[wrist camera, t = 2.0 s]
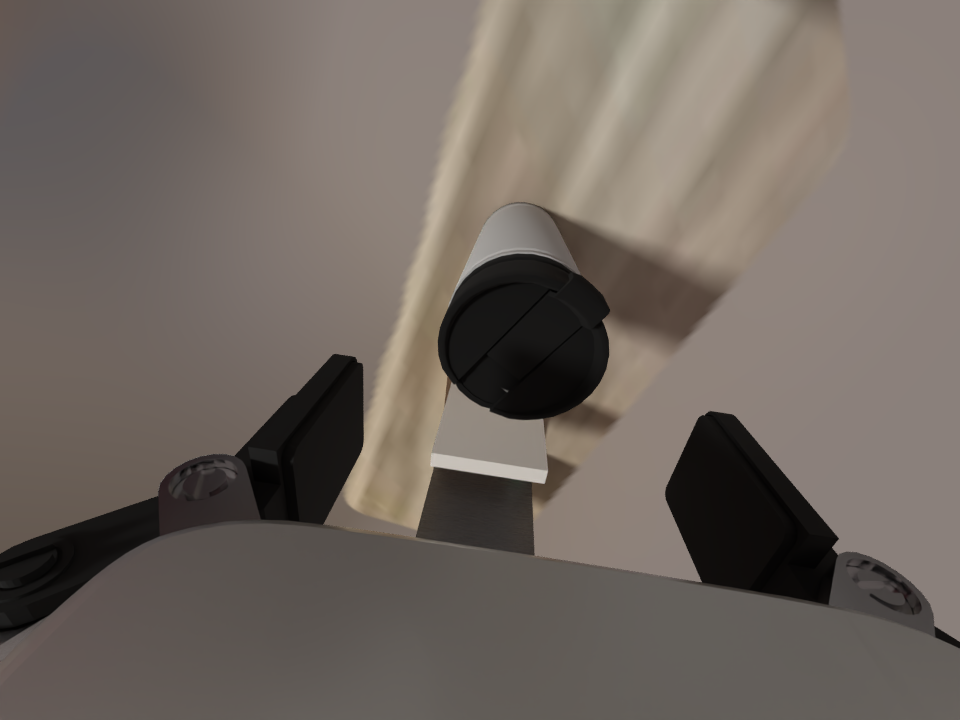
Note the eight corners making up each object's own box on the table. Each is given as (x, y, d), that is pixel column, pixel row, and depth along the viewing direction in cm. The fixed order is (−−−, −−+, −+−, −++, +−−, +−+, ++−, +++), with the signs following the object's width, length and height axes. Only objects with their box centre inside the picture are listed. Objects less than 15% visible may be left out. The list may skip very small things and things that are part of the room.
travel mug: (579, 236, 31) (661, 352, 13) (521, 297, 34) (524, 461, 16) (519, 179, 29) (522, 223, 12) (463, 248, 32) (397, 368, 14)
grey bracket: (452, 346, 36) (418, 448, 24) (550, 361, 36) (567, 472, 24) (439, 463, 43) (408, 589, 31) (523, 476, 43) (525, 608, 30)
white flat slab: (452, 378, 36) (431, 452, 27) (551, 393, 36) (562, 473, 27) (451, 389, 37) (430, 466, 28) (548, 404, 37) (558, 486, 28)
